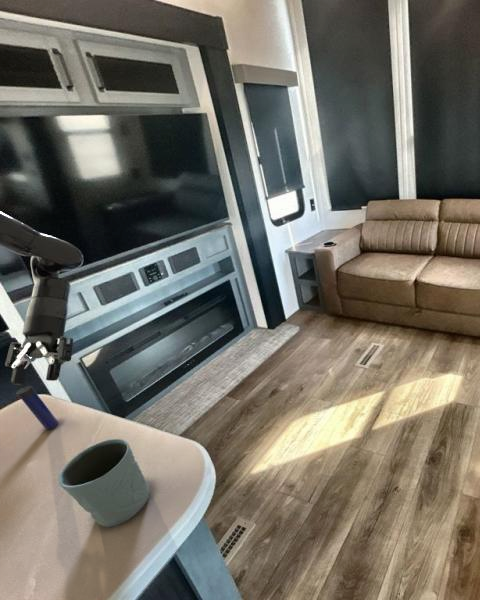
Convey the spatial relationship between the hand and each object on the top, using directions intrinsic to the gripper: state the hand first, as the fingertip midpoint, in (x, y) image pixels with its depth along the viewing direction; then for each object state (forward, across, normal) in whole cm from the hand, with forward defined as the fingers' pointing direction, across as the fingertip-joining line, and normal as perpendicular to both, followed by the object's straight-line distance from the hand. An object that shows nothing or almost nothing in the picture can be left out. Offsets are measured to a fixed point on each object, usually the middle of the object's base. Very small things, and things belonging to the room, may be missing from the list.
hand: (34, 382), depth 88 cm
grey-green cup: (+27, +34, -10) cm, 45 cm away
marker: (+10, 0, +6) cm, 12 cm away
